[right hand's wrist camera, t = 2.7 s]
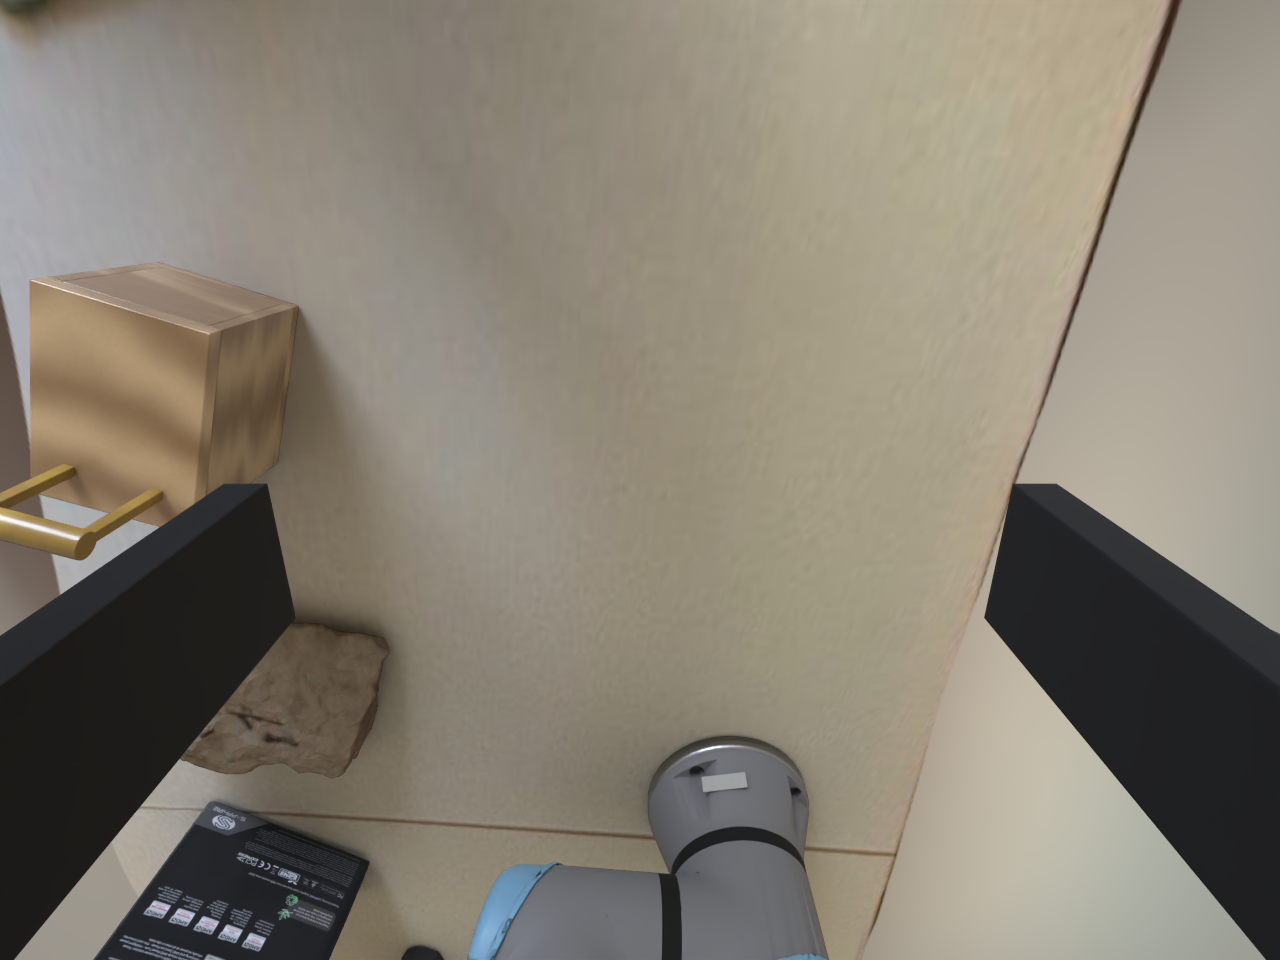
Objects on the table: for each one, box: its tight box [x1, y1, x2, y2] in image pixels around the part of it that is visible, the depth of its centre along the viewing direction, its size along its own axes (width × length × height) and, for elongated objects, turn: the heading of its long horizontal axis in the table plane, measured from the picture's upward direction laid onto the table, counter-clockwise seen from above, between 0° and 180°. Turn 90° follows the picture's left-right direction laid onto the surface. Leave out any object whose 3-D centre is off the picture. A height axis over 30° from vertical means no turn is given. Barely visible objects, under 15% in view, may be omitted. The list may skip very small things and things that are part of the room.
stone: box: [180, 623, 389, 778], centre depth 60 cm, size 21×15×6 cm
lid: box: [0, 278, 221, 560], centre depth 39 cm, size 14×10×9 cm
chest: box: [47, 262, 299, 496], centre depth 48 cm, size 13×10×10 cm
